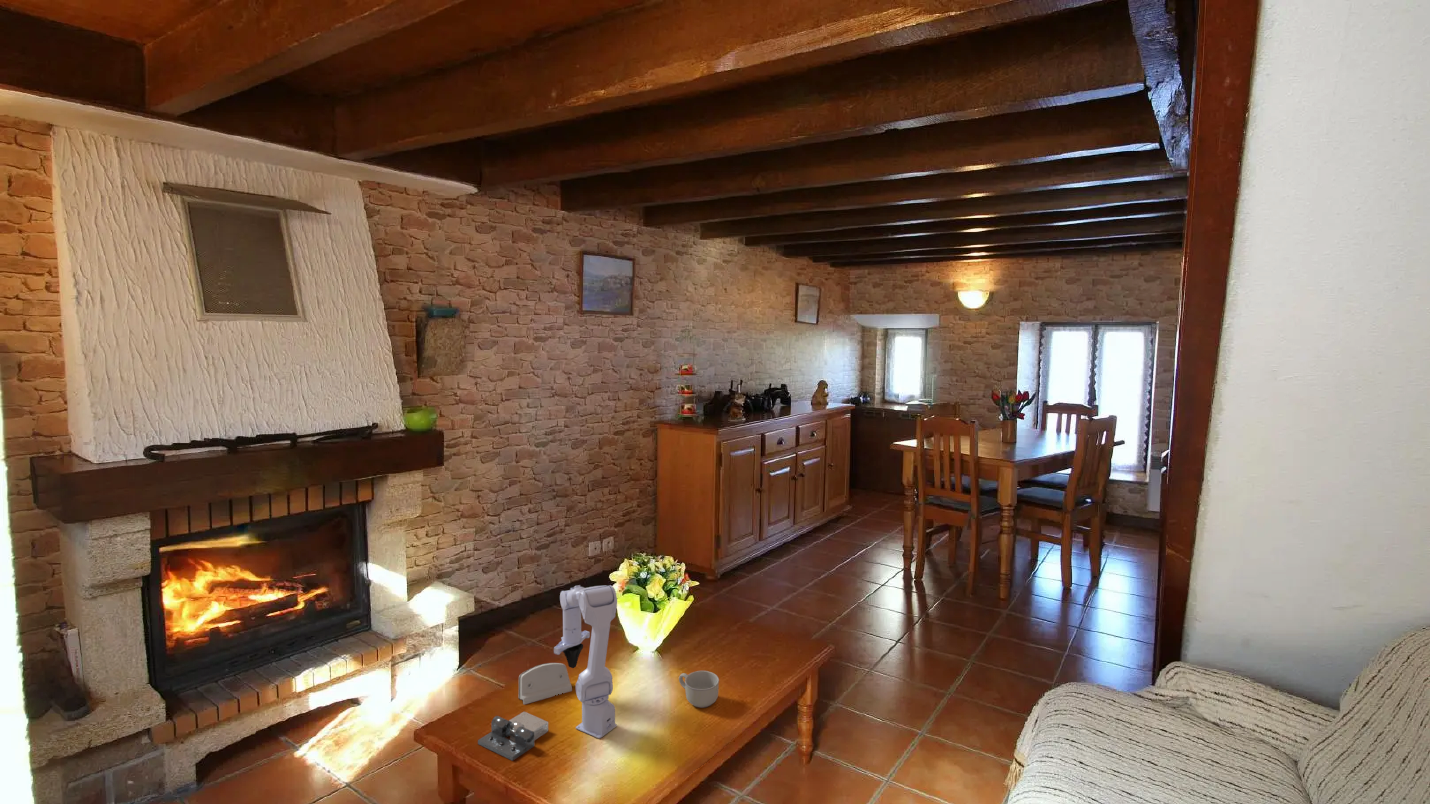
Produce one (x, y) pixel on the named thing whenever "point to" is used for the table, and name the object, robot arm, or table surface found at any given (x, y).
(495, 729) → the fixed leaf
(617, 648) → the table surface
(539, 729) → the grey boxy piece
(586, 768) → the table surface
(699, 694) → the teacup
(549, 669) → the grey rounded slab
